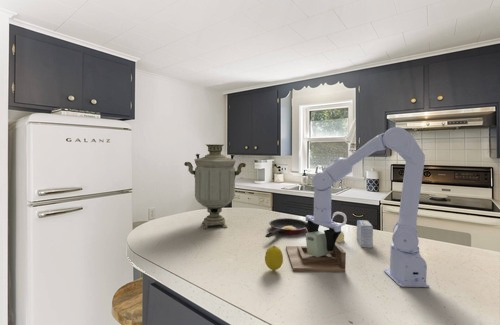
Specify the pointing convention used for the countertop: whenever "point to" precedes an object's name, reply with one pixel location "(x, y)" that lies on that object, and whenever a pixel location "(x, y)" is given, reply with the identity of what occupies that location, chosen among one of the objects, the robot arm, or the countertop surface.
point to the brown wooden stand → (316, 260)
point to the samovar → (214, 182)
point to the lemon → (273, 258)
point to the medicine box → (364, 234)
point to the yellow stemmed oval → (341, 235)
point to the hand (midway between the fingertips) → (321, 246)
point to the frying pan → (286, 226)
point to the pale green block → (317, 243)
